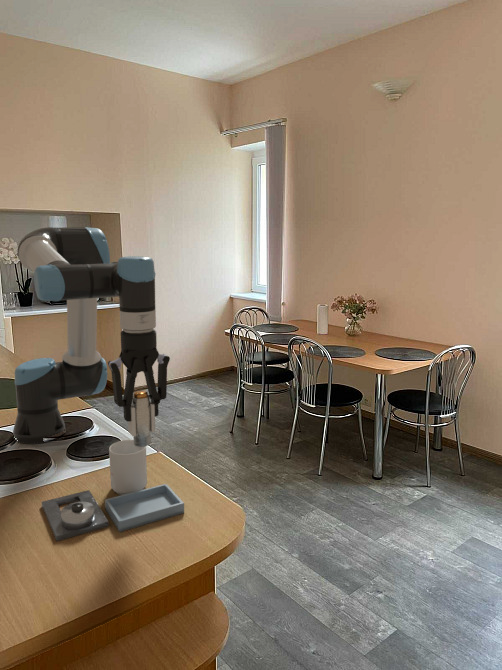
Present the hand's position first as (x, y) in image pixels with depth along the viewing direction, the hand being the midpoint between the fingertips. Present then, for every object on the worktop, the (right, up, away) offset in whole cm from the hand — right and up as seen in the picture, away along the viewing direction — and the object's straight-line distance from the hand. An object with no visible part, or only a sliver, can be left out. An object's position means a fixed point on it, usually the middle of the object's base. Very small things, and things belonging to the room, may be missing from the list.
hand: (141, 431), depth 118 cm
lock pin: (0, -3, +1) cm, 3 cm away
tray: (0, -19, +4) cm, 20 cm away
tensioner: (-16, -19, +2) cm, 25 cm away
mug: (-7, -17, +16) cm, 24 cm away
